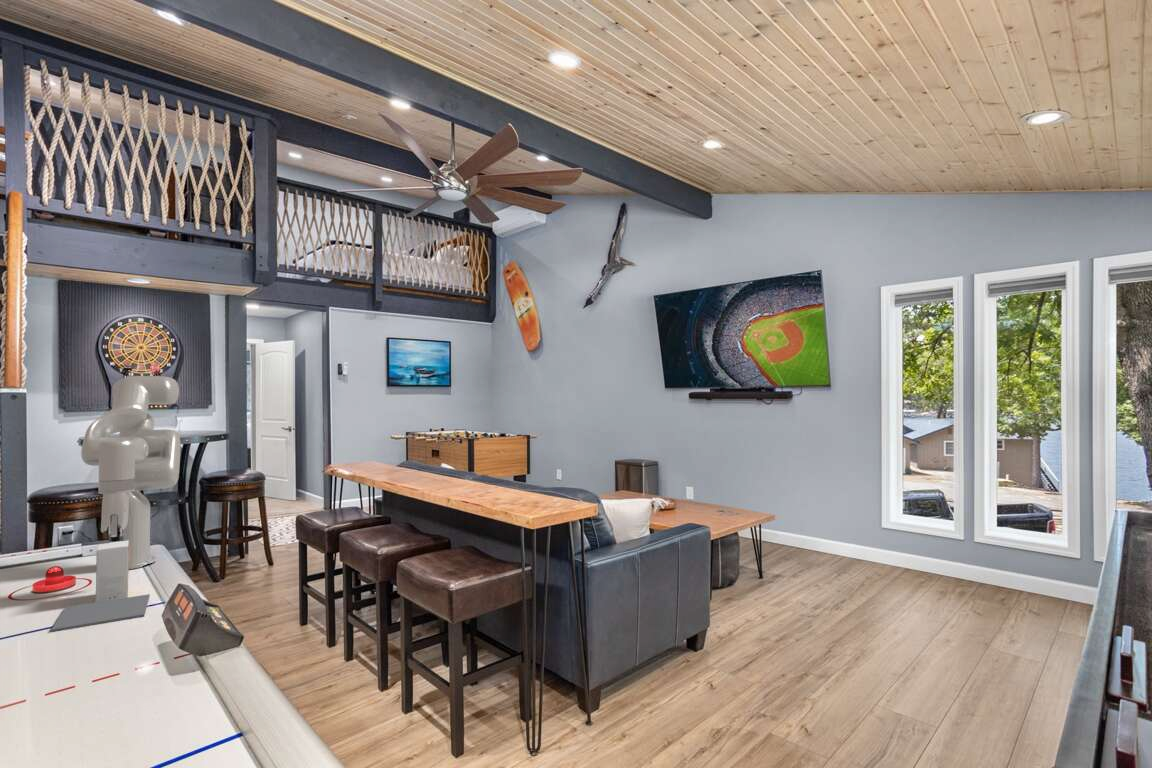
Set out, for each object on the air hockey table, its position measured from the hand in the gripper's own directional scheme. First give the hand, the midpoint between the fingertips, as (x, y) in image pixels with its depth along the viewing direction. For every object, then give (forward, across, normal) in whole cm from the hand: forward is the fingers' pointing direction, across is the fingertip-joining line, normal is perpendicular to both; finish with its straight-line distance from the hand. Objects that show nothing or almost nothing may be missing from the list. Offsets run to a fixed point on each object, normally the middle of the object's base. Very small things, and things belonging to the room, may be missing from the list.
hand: (116, 556), depth 153 cm
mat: (+8, +21, 0) cm, 22 cm away
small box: (+9, +8, 0) cm, 12 cm away
